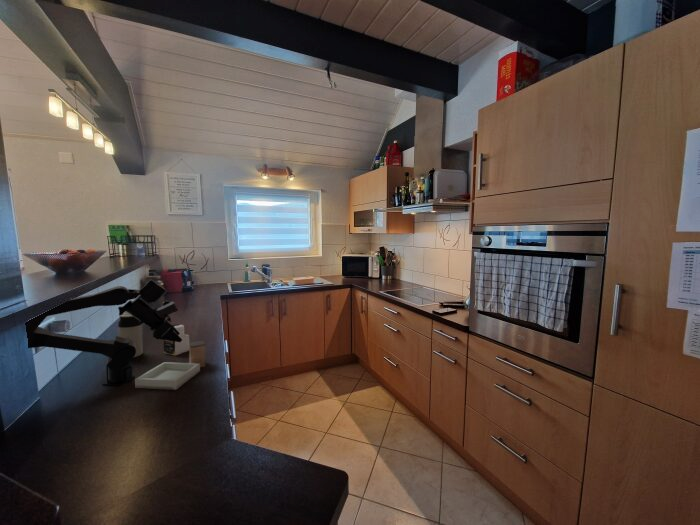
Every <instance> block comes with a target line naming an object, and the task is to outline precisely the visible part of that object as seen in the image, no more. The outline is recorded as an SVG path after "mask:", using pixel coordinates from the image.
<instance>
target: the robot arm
mask: <svg viewBox="0 0 700 525" xmlns="http://www.w3.org/2000/svg"><path fill="white" fill-rule="evenodd" d="M167 292H168V290H167V289H166V288H164V287H163V286H162V285H160V283H159V284H158V283H157V282H156V281H154V280H153V279H149V280H148V281H147V282H146V284H144V285H143V286H142V287H141V288H140V289H134V288H133V289H130V288H129V289H128V288H127V287H126V286H124V285H123V286H121V285H118V286H114V287H110V288H108V289H107V288H106V289H105V290H102V291H99V292H97V293H94V294H89V295H83V296H77V297H72V298H73V299H72V298H70V299H71V300H69V301H67V302H65V303H63V304H61V305H59V306H57V307H55V308H53V309H51V310H49V311H47V312H45V313H43V314H41V315H39V316H37V317H35V318H33V319H31V320H29V321H28V322H26V323H25V325H26V332H27V338H28V348H27V349H35V348H42V347H43V348H52V349H60V350H69V351H74V352H84V353H91V354H99V355H102V356H105V357H107V362H106V365H105V369H106V381H104V382H102V386H103V385H104V386H105V385H106V386H122V385H123V384H125V383H127V382H129V381H131V380H132V379H135V377H136V375H133V366H132V362H131V361H130V360H131V359H133V357H134V356H135V354H136V344H135V343H134V341H132V340H129V338H122V337H119V335H115V336H114V339H109V340H106V339H97V338H92V337H91V338H90V337H84V336H77V335H72V334H65V333H58V332H53V331H50V330H48V329H45V328H43V327H40V325H41V324H42V323H43V322H44V320H45V319H46V318H47V317H49V316H56V315H59V314H60V315H61V314H64V313H69V312H74V311H78V310H84V309H88V308H93V307H111V306H118V309H117V310H118V316H119V315H122V314H123V313H129V314H130V315H132V316H133V317H135V318H136V319H138V320H139V321H140V323H142V325H143V324H144V325H145V326H147V327H148V328H149V330H150V331H152V337H153V338H155V339H156V340H162V341H164V340H169V341H175V342H181V341H182V339H181V338H180V337H179V336H178V335H179V334H180V333H179V332H178V331H177V329H176V328H175V327H174V326H173V325H174V324H173V323H172V320H171V316H170V315H171V314H173V313H176V312H178V311H179V309H178V307H177V305H176V303H175V302H174V301H169V300H165V301H163V302H162V306H160V307H158V308H157V307H155V306H153V307H152V306H151V305H149V304H150V303H154V304H155V303H156V302H157V301H158V300H160V299H161V298H162V297H163V296H164V295H165V294H166V293H167ZM146 302H147V303H146ZM148 303H149V304H148ZM134 358H135V357H134Z"/></svg>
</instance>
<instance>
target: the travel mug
mask: <svg viewBox="0 0 700 525" xmlns="http://www.w3.org/2000/svg"><path fill="white" fill-rule="evenodd" d="M118 317H119V320H118V325H117V327H118V336H119V337H122V338H129V340H132V341H134V343H135V344H136V354H135V356H134V357H133V358H137V357H139V356H141V355H143V350H144V348H143V324H142V323H140V321H139V320H138V319H136V318H135V317H133V316H132V315H130V314H129V313H127V312H124V313H123V314H122V315H119V314H118ZM133 358H132V359H133Z"/></svg>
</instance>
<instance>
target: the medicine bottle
mask: <svg viewBox="0 0 700 525" xmlns="http://www.w3.org/2000/svg"><path fill="white" fill-rule="evenodd" d="M173 326H174V327H175V328H176V329H177V331H178V332H179V333H180V334H179V335H178V336H179V337H180V338H181V339H182V341H181V342H175V341H169V340H163V354H166V355H170V356H179V355H180V354H183V353H186V352H189V343H190V335H189V334H186V333H185V325H184V324H181V323H177V324H173Z"/></svg>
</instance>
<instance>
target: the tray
mask: <svg viewBox="0 0 700 525" xmlns="http://www.w3.org/2000/svg"><path fill="white" fill-rule="evenodd" d="M200 372H201V367H200V364H198V363H189V362H172V361H171V362H170V361H164V362H162V363H160V364H158V365H157V366H155V367H152V368H151V369H150V370H148V371H146V372H145V373H143V374H141V375H140V376H138V377H136V378H134V389H153V390H154V389H155V390H175V391H176V390H178V389H179V388H180V387H182V386H183V385H184V384H186V383H187V382H188V381H189V380H191V379H192V378H194V377H195V376H196V375H197V374H199V373H200Z"/></svg>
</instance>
